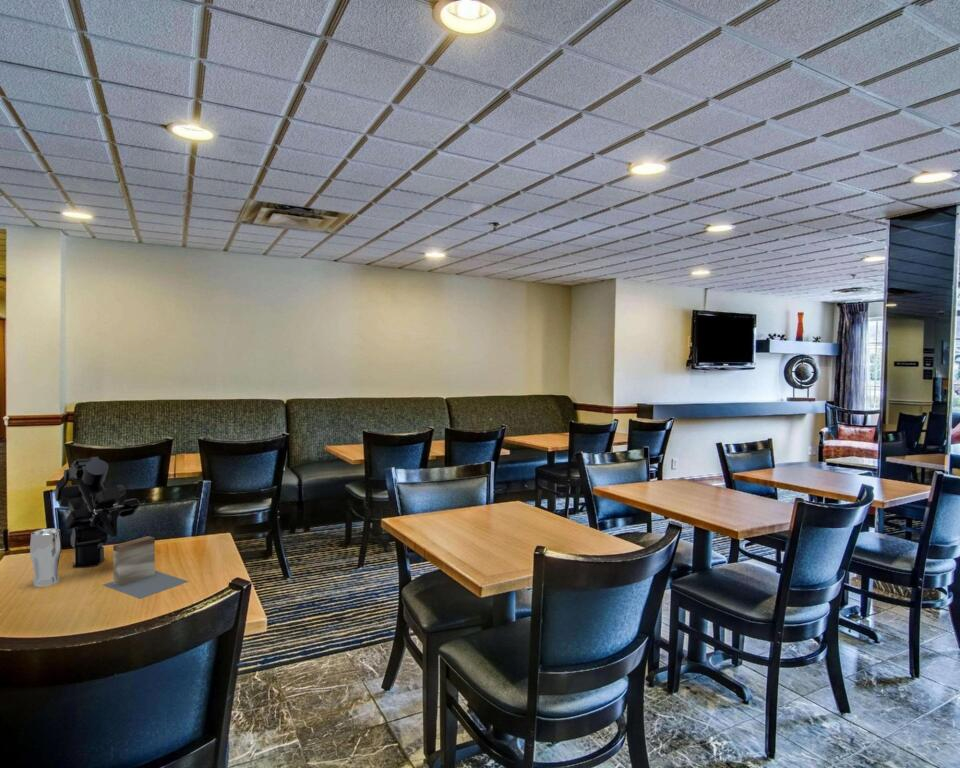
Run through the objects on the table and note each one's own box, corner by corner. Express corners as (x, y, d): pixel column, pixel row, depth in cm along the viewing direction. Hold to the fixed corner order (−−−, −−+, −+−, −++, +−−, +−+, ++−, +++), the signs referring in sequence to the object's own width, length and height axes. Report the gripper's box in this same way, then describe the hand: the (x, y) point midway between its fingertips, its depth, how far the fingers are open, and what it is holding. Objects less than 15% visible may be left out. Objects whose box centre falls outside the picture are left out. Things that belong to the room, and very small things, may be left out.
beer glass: (67, 581, 164) (67, 529, 163) (41, 590, 157) (41, 536, 156) (50, 578, 166) (49, 526, 165) (24, 587, 159) (23, 533, 159)
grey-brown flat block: (113, 584, 161) (113, 545, 161) (148, 572, 170) (148, 536, 170) (119, 586, 160) (119, 547, 159) (154, 574, 169) (154, 537, 168)
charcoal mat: (102, 586, 161) (102, 584, 161) (151, 571, 173) (151, 569, 173) (140, 600, 152) (140, 598, 152) (189, 583, 164) (189, 581, 164)
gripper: (69, 483, 162) (90, 527, 157) (136, 472, 179) (157, 512, 174) (56, 506, 167) (76, 550, 162) (122, 494, 183) (142, 534, 178)
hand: (115, 536), depth 169 cm, fingers closed
